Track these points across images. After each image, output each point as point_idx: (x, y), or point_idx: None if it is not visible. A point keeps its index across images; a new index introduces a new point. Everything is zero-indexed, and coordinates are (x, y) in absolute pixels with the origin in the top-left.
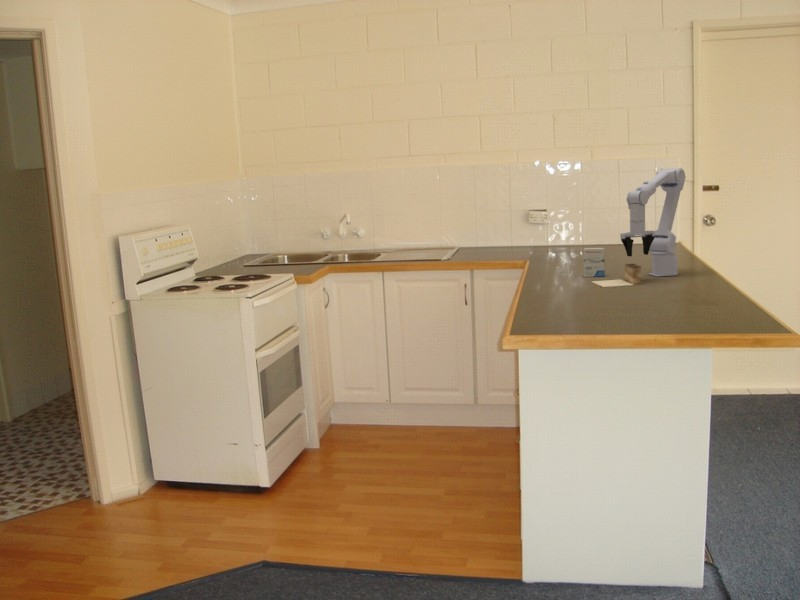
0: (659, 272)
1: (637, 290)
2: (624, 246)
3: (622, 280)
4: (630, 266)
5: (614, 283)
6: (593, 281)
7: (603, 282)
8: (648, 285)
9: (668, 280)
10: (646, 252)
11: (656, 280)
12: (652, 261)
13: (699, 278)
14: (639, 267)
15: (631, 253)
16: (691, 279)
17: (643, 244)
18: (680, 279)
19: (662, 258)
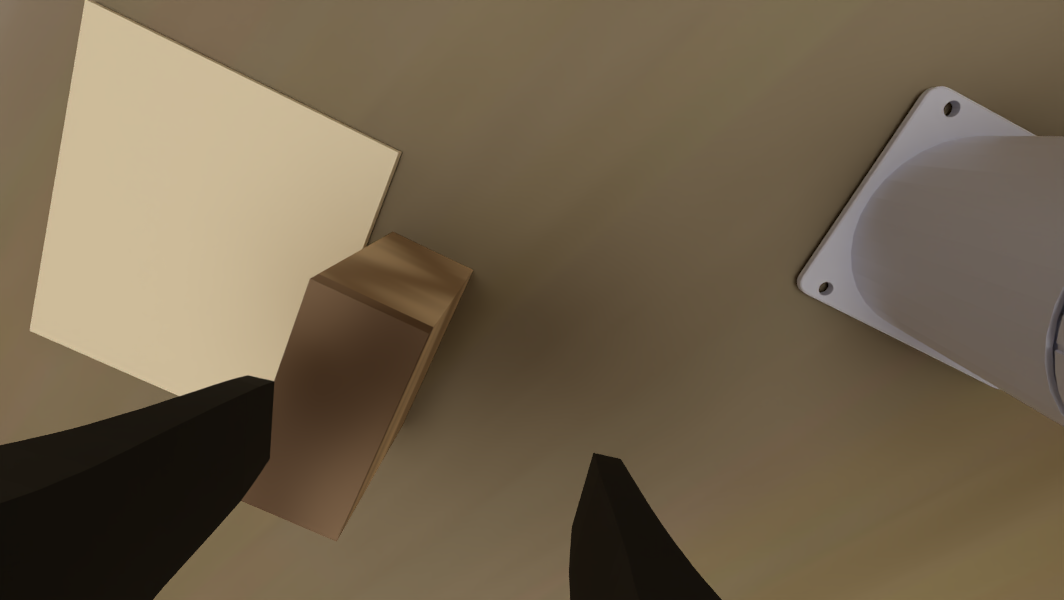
0: (873, 294)
1: (186, 578)
2: (29, 443)
3: (366, 220)
4: None
5: (199, 288)
6: (101, 23)
7: (150, 163)
8: (385, 512)
9: (683, 482)
10: (573, 550)
11: (623, 410)
12: (1001, 201)
13: (916, 596)
14: (322, 523)
15: (226, 501)
16: (834, 579)
17: (629, 588)
18: (787, 521)
19: (1023, 396)
